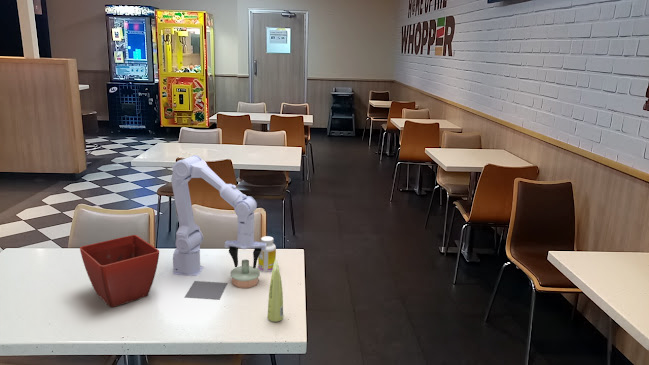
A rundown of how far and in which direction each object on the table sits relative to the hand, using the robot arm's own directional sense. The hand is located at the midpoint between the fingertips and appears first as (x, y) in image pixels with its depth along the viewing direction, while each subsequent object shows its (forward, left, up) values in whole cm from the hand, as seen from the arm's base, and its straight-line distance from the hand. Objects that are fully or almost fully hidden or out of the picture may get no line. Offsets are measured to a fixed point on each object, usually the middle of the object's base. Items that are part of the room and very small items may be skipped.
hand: (245, 266), depth 177 cm
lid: (0, 0, -3) cm, 3 cm away
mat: (-12, -8, -6) cm, 16 cm away
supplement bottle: (+6, +12, -7) cm, 15 cm away
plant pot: (-39, -14, -7) cm, 42 cm away
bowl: (0, 0, -6) cm, 6 cm away
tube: (+14, -22, -7) cm, 27 cm away
